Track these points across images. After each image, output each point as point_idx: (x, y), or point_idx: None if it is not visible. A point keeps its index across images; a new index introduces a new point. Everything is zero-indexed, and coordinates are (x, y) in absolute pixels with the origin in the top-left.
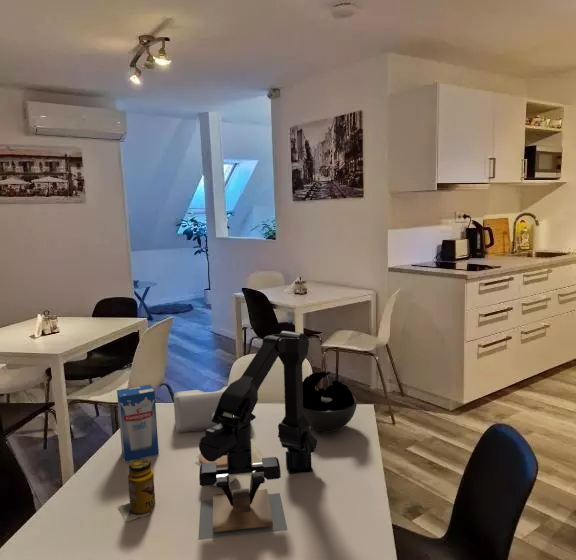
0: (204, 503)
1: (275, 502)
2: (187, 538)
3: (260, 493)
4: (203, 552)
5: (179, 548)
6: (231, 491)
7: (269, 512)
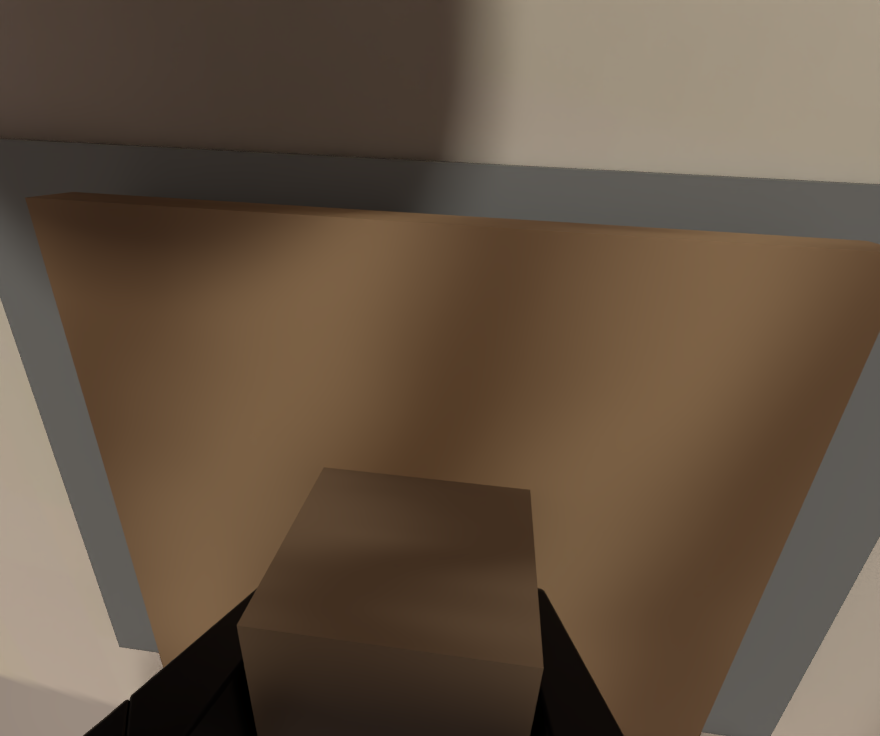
0: (13, 211)
1: (864, 399)
2: (49, 590)
3: (741, 353)
4: None
5: (35, 648)
6: (220, 716)
7: (699, 696)
